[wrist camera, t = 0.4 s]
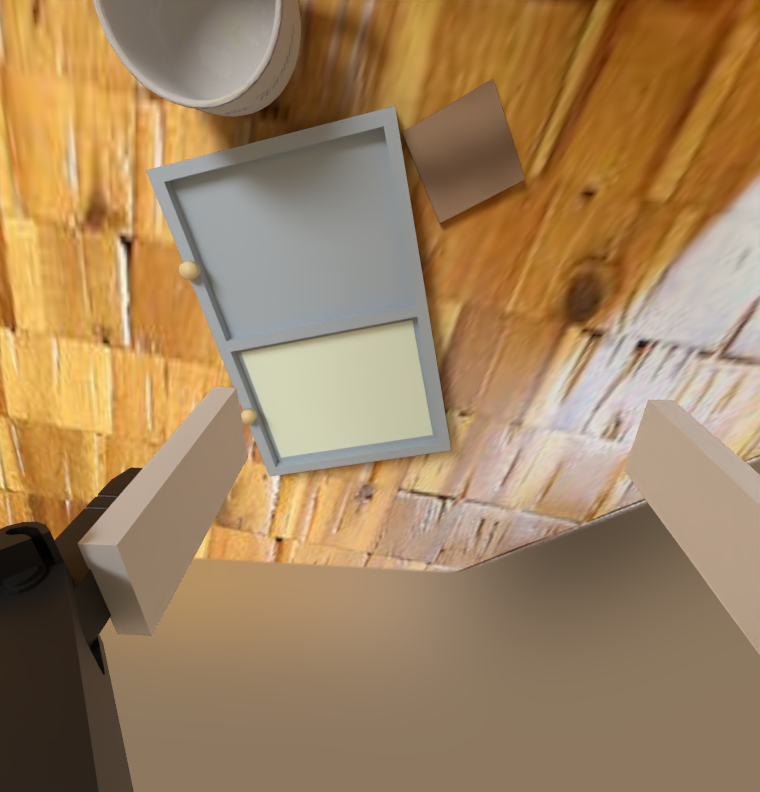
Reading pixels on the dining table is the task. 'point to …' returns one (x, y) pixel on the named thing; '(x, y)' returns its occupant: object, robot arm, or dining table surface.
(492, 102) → the walnut coaster
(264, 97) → the teacup
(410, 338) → the grey divided tray
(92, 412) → the dining table surface
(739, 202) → the dining table surface
